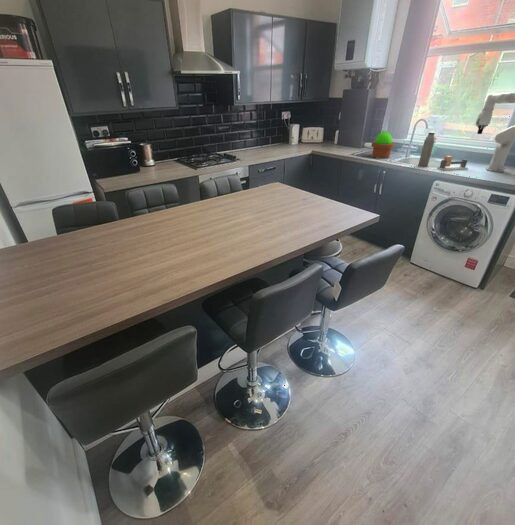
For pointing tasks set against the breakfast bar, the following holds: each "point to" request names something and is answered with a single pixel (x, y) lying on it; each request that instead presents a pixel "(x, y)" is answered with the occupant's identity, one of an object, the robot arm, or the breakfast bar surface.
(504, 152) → the robot arm
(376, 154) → the potted cactus
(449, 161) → the keeper
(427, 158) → the thermos bottle
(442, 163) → the rail
